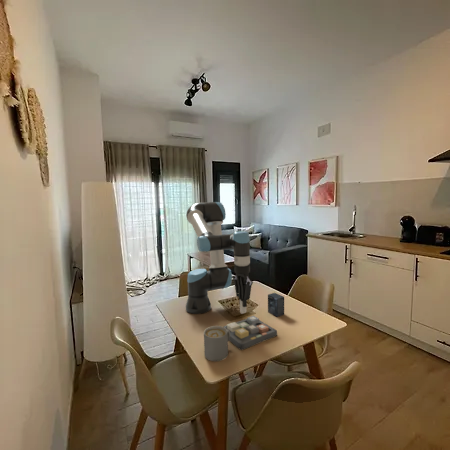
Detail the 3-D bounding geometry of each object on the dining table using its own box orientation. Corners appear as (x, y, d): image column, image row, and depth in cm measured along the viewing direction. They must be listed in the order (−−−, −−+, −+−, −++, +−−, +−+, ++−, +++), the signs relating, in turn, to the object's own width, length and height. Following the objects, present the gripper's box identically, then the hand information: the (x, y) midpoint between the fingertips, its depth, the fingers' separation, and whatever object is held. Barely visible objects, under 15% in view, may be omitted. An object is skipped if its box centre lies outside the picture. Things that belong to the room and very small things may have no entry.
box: (267, 312, 149) (267, 294, 148) (275, 309, 152) (274, 292, 151) (277, 317, 142) (276, 298, 141) (284, 314, 145) (284, 296, 144)
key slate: (246, 321, 131) (246, 317, 131) (253, 319, 134) (253, 315, 134) (252, 325, 128) (252, 320, 128) (259, 322, 130) (259, 318, 130)
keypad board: (219, 332, 127) (219, 327, 127) (253, 321, 138) (253, 316, 138) (241, 350, 112) (241, 343, 111) (277, 335, 123) (276, 329, 123)
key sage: (237, 327, 128) (237, 323, 128) (244, 325, 131) (244, 321, 131) (242, 331, 125) (242, 327, 124) (249, 329, 127) (249, 324, 127)
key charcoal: (245, 330, 122) (245, 326, 122) (253, 328, 125) (252, 323, 124) (251, 334, 119) (251, 330, 118) (258, 331, 121) (258, 327, 121)
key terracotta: (255, 330, 126) (255, 325, 125) (262, 327, 128) (262, 323, 128) (261, 334, 122) (261, 329, 122) (268, 331, 124) (268, 327, 124)
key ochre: (235, 334, 119) (235, 330, 119) (243, 331, 121) (242, 327, 121) (240, 338, 115) (240, 334, 115) (248, 335, 118) (248, 331, 118)
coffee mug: (213, 364, 103) (212, 340, 102) (200, 353, 111) (199, 330, 110) (239, 352, 111) (238, 329, 110) (225, 342, 119) (224, 321, 118)
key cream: (227, 328, 125) (226, 324, 125) (234, 325, 127) (234, 321, 127) (232, 332, 121) (232, 327, 121) (239, 329, 124) (239, 325, 123)
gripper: (227, 263, 126) (229, 310, 128) (244, 268, 115) (245, 319, 117) (240, 260, 130) (241, 306, 132) (257, 265, 119) (258, 315, 121)
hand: (243, 312), depth 124 cm, fingers closed
